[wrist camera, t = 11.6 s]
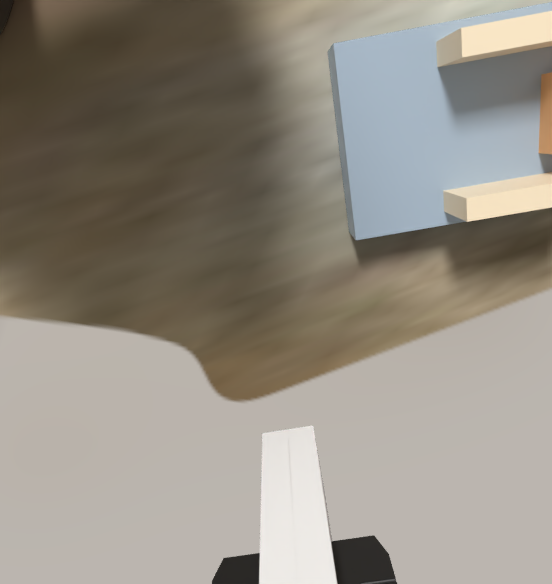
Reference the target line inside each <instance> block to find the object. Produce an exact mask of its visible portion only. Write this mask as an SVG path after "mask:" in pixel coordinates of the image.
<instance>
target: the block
mask: <svg viewBox="0 0 552 584" xmlns="http://www.w3.org/2000/svg"><path fill="white" fill-rule="evenodd" d="M539 153H541V154H552V72H551V73H546V74H541V99H540V126H539Z"/></svg>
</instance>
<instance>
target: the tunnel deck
mask: <svg viewBox="0 0 552 584" xmlns="http://www.w3.org/2000/svg"><path fill="white" fill-rule="evenodd" d="M328 59H329V67H330V75H331V84H332V92H333V101H334V109H335V117H336V126H337V134H338V143H339V151H340V159H341V168H342V176H343V185H344V193H345V201H346V210H347V218H348V227H349V232H350V234H351V235H352V236H353V237H354V238H355V240H361V239H367V238H373V237H379V236H384V235H390V234H396V233H402V232H408V231H414V230H420V229H425V228H431V227H437V226H443V225H449V224H455V223H461V222H469V221H475V220H481V219H487V218H492V217H498V216H504V215H510V214H516V213H522V212H528V211H534V210H539V209H545V208H551V207H552V154H541V153H539V126H540V99H541V74H546V73H551V72H552V2H550V3H544V4H539V5H534V6H528V7H523V8H518V9H513V10H507V11H502V12H497V13H491V14H486V15H481V16H476V17H470V18H465V19H460V20H454V21H449V22H444V23H439V24H433V25H428V26H423V27H418V28H412V29H407V30H402V31H396V32H391V33H386V34H381V35H375V36H370V37H365V38H359V39H354V40H349V41H344V42H338V43H333V45H332V46H331V48H330V49H329V50H328Z"/></svg>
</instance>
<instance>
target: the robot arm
mask: <svg viewBox="0 0 552 584" xmlns="http://www.w3.org/2000/svg"><path fill="white" fill-rule="evenodd" d="M12 4H13V0H0V34H1V32H2V30H3V28H4V26H5V24H6V22H7V20H8V17H9V14H10V11H11V8H12ZM212 584H397V582H396V579H395V575H394V571H393V568H392V564H391V561H390V557H389V554H388V553H387V551H386V550H385V549H384V548H383V546H382V545H381V544H380V542H379V541H378V540H377V539H376V537H375V536H368V537H360V538H353V539H346V540H339V541H332V537H331V531H330V524H329V518H328V511H327V504H326V498H325V492H324V487H323V481H322V475H321V469H320V463H319V458H318V452H317V445H316V439H315V434H314V428H313V425H312V426H306V427H299V428H293V429H287V430H280V431H273V432H267V433H263V434H262V477H261V523H260V553H258V554H250V555H244V556H237V557H229V558H224V559H223V561H222V563H221V565H220V567H219V568H218V570H217V572H216V574H215V576H214V578H213V580H212Z"/></svg>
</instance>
